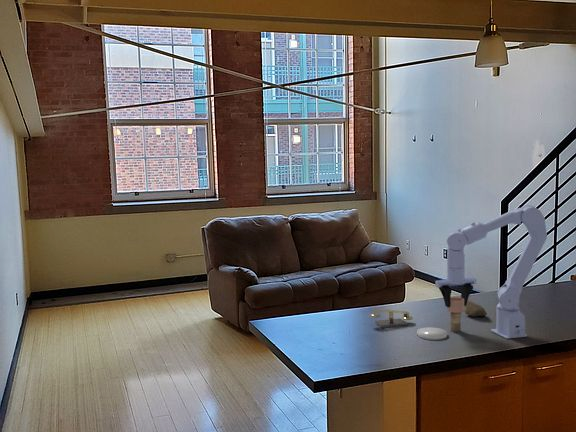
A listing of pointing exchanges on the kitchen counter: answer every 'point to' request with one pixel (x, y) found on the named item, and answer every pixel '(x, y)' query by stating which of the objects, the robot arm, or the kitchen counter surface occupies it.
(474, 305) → the fossil
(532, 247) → the robot arm
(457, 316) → the peg
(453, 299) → the sleeve
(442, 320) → the kitchen counter surface
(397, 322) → the balance
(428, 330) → the white glossy domed part
